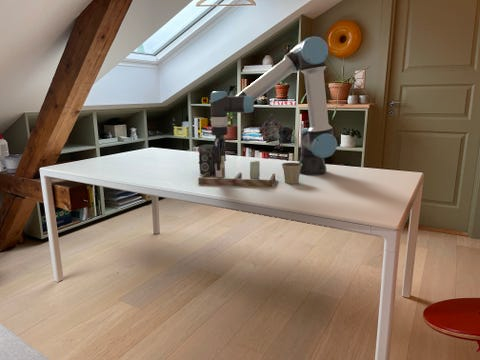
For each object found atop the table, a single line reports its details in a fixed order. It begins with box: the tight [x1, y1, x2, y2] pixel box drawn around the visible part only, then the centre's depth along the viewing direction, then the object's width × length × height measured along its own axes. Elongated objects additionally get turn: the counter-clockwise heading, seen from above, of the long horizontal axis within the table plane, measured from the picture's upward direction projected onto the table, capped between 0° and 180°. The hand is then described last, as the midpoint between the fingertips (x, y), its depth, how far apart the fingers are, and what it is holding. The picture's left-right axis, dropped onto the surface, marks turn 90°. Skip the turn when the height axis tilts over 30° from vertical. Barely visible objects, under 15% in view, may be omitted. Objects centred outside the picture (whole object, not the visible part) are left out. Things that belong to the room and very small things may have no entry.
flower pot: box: [281, 162, 302, 185], centre depth 165 cm, size 9×9×9 cm
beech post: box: [215, 155, 226, 178], centre depth 168 cm, size 4×4×10 cm
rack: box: [197, 172, 276, 188], centre depth 168 cm, size 34×14×3 cm, turn 79°
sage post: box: [249, 160, 261, 180], centre depth 165 cm, size 4×4×10 cm
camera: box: [197, 144, 216, 176], centre depth 183 cm, size 10×10×15 cm
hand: (220, 175), depth 169 cm, fingers closed on beech post, 4 cm apart
